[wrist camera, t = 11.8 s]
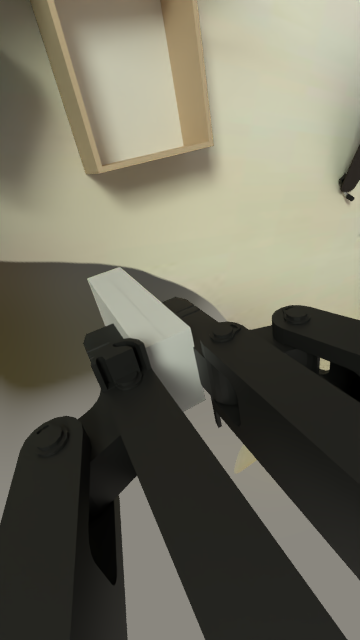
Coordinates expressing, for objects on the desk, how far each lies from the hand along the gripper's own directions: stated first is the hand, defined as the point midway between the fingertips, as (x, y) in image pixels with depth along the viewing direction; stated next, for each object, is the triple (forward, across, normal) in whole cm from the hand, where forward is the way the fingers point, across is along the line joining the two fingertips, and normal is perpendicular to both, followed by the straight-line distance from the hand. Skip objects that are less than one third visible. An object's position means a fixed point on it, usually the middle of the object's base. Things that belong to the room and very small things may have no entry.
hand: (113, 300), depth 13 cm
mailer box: (+34, +15, +13) cm, 40 cm away
